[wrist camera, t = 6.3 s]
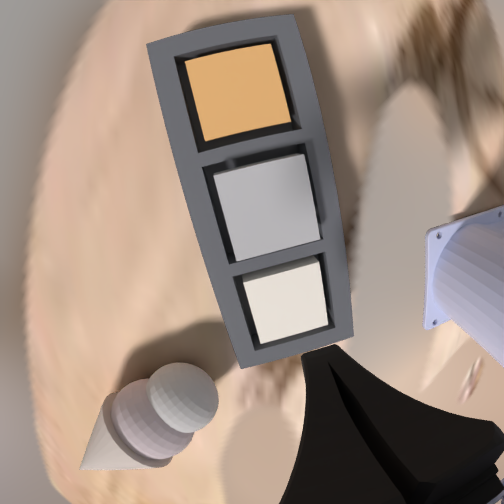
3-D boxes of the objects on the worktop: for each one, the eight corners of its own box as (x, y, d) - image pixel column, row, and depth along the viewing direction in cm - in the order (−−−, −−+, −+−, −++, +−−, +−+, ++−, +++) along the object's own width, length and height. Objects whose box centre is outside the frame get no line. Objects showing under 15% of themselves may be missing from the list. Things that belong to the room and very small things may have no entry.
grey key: (296, 153, 13) (304, 154, 11) (311, 231, 14) (320, 239, 13) (213, 173, 12) (213, 175, 11) (234, 251, 14) (236, 261, 13)
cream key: (311, 253, 15) (319, 262, 14) (321, 313, 16) (328, 324, 15) (241, 272, 15) (243, 282, 14) (257, 331, 16) (260, 343, 15)
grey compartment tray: (279, 35, 13) (293, 14, 10) (335, 309, 19) (353, 336, 16) (158, 61, 13) (146, 44, 10) (237, 337, 18) (240, 368, 16)
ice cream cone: (82, 432, 20) (196, 339, 21) (121, 488, 18) (251, 406, 19) (33, 443, 15) (153, 336, 15) (77, 511, 13) (225, 430, 13)
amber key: (266, 51, 12) (270, 43, 11) (285, 123, 13) (291, 121, 12) (187, 68, 12) (184, 61, 10) (206, 141, 13) (204, 141, 12)
